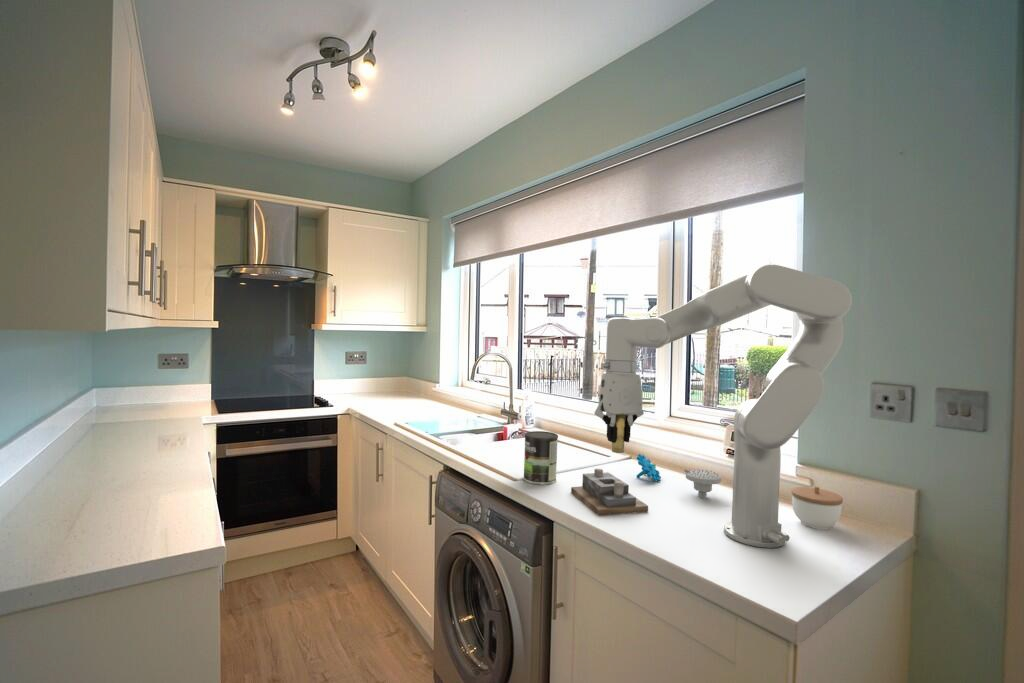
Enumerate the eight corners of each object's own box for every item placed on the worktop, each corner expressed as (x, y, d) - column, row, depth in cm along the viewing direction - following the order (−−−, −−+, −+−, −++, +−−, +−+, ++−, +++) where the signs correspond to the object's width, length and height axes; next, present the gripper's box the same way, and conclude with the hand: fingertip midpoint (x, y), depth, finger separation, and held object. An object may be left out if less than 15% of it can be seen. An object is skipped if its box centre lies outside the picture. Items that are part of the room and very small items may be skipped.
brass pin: (626, 452, 120) (627, 412, 120) (615, 453, 119) (617, 412, 119) (620, 449, 123) (621, 410, 123) (609, 450, 122) (611, 410, 122)
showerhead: (683, 464, 146) (719, 468, 143) (682, 488, 146) (718, 493, 143) (683, 473, 137) (722, 477, 134) (682, 498, 137) (721, 503, 134)
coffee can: (533, 486, 144) (535, 439, 144) (517, 477, 153) (518, 432, 153) (563, 482, 149) (564, 436, 149) (545, 473, 158) (546, 430, 158)
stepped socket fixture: (647, 511, 126) (648, 484, 126) (598, 515, 123) (599, 487, 123) (615, 489, 144) (616, 465, 144) (571, 492, 140) (571, 468, 140)
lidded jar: (780, 517, 125) (781, 481, 125) (814, 515, 127) (816, 479, 127) (816, 535, 114) (817, 495, 114) (852, 531, 117) (854, 492, 117)
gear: (655, 480, 148) (635, 453, 153) (641, 492, 150) (621, 464, 155) (667, 477, 157) (648, 451, 162) (653, 488, 159) (634, 462, 164)
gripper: (598, 368, 115) (595, 446, 115) (658, 369, 120) (655, 443, 120) (584, 366, 122) (581, 439, 122) (641, 366, 127) (639, 437, 127)
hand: (618, 440), depth 121 cm, fingers closed on brass pin, 3 cm apart
